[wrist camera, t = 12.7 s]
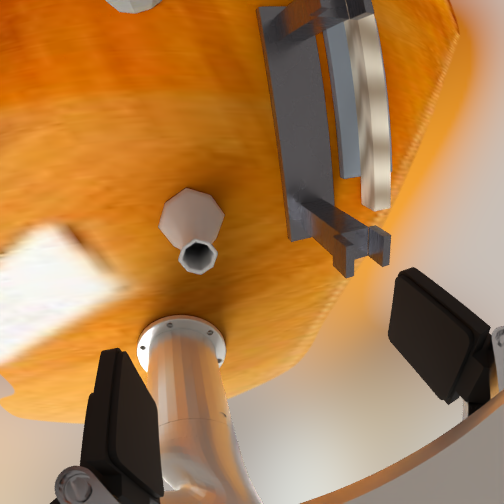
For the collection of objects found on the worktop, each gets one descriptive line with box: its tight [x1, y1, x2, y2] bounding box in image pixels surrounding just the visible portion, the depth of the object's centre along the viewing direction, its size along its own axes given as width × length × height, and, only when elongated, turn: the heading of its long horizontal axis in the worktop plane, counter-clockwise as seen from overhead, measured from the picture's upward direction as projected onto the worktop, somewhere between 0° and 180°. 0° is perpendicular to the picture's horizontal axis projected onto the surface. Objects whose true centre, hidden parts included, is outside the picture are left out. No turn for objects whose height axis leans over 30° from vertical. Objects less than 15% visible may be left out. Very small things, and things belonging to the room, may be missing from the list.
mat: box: [323, 19, 392, 179], centre depth 32 cm, size 21×8×1 cm, turn 9°
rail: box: [344, 0, 391, 211], centre depth 30 cm, size 28×2×3 cm, turn 8°
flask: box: [158, 188, 225, 275], centre depth 30 cm, size 7×7×10 cm
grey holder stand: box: [256, 0, 391, 278], centre depth 26 cm, size 28×6×14 cm, turn 9°
